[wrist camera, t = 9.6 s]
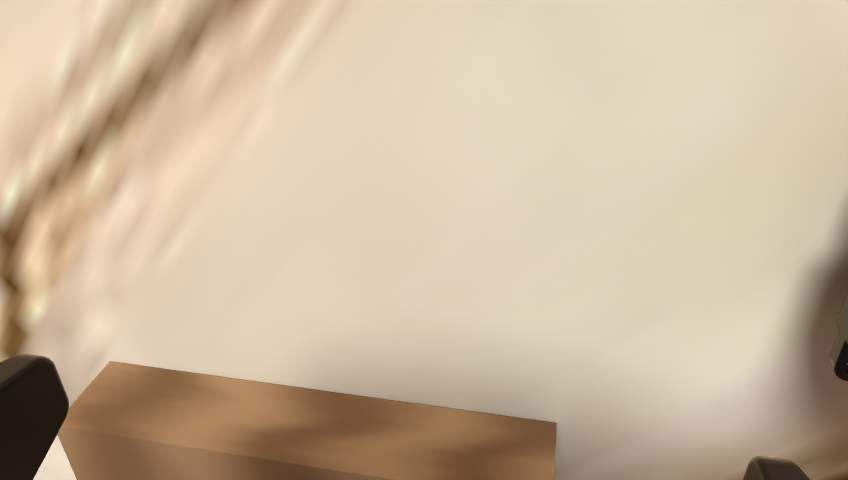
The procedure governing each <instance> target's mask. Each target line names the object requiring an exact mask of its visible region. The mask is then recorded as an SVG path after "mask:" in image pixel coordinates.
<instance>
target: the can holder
mask: <svg viewBox="0 0 848 480" xmlns="http://www.w3.org/2000/svg"><path fill="white" fill-rule="evenodd" d="M58 437H59V439H60V441H61V444H62V446H63V448H64V451H65V453H66V455H67V458H68V460H69V462H70V465H71V467H72V469H73V472H74V474H75V476H76V479H77V480H554V465H555V441H556V423H552V422H544V421H537V420H530V419H523V418H515V417H508V416H501V415H494V414H486V413H479V412H472V411H465V410H457V409H450V408H443V407H436V406H429V405H421V404H414V403H407V402H400V401H392V400H385V399H378V398H371V397H363V396H356V395H349V394H342V393H334V392H327V391H320V390H313V389H305V388H298V387H291V386H284V385H276V384H269V383H262V382H255V381H247V380H240V379H233V378H226V377H218V376H211V375H204V374H197V373H189V372H182V371H175V370H168V369H160V368H153V367H146V366H139V365H132V364H124V363H117V362H109V363H108V364H107V365H106V367H105V368H104V369H103V370H102V371H101V372H100V373H99V375H98V376H97V377H96V378H95V379H94V380H93V381H92V383H91V384H90V385H89V386H88V387H87V388H86V389H85V390H84V392H83V393H82V394H81V395H80V396H79V397H78V398H77V400H76V401H75V402H74V403H73V404H72V405H71V406H70V408H69V409H68V413H67V416H66V419H65V421H64V423H63V424H62V426H61V428H60V430H59V432H58Z"/></svg>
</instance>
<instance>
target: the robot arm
mask: <svg viewBox="0 0 848 480" xmlns="http://www.w3.org/2000/svg"><path fill="white" fill-rule="evenodd" d="M837 324H838V326H839V328H840V332H839V334H838V337H837V339H836V342H835V344H834V347H833V349H832V352H831V354H830V360H829V361H830V363H831V365H832V367H833V370H834V372H835V374H836V376H837V377H839V378H840V379H842V380H845V381H848V365H846V364H847V363H848V293H847V295H846V298H845V300H844V303H843V305H842V308H841V310H840V313H839V315H838V318H837ZM68 409H69V400H68V397H67V394H66V392H65V389H64V387H63V384H62V382H61V379H60V377H59V374H58V372H57V369H56V367H55V365H54V363H53V361H51V360H50V359H49V358H47V357H43V356H36V355H29V354H19V355H15V356H13V357H10V358H8V359H6V360H4V361H2V362H0V480H33V478H34V476H35V475H36V473H37V471H38V469H39V467H40V465H41V463H42V462H43V460H44V458H45V456H46V454H47V452H48V450H49V449H50V447H51V445H52V443H53V441H54V439H55V437H56V436H57V434H58V432H59V430H60V428H61V426H62V424H63V423H64V421H65V419H66V416H67V413H68ZM743 480H810V479H809V478H808V477H807V476H806V475H805V474H804V472H803V471H802V470H801V469H800V468H799V467H798V466H797V465H796V464H794V463H793V462H791V461H789V460H784V459H777V458H770V457H763V456H756V457H754V458H752V459H751V461H750V462H749V464H748V467H747V470H746V472H745V475H744V478H743Z"/></svg>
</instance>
